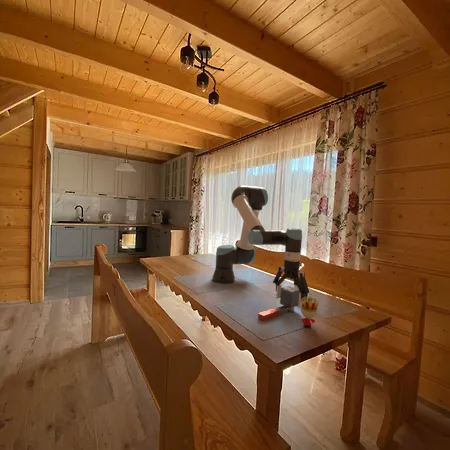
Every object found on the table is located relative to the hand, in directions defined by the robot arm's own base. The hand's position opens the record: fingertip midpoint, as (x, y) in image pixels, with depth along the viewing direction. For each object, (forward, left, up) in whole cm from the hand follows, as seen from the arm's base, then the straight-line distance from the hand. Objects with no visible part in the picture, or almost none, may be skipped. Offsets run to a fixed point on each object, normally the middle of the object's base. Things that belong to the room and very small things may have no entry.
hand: (289, 302), depth 129 cm
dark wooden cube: (0, 0, -1) cm, 1 cm away
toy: (+16, -8, -4) cm, 18 cm away
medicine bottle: (-6, +17, -4) cm, 19 cm away
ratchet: (0, -9, -4) cm, 10 cm away
